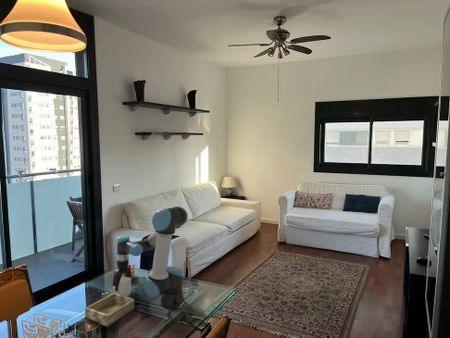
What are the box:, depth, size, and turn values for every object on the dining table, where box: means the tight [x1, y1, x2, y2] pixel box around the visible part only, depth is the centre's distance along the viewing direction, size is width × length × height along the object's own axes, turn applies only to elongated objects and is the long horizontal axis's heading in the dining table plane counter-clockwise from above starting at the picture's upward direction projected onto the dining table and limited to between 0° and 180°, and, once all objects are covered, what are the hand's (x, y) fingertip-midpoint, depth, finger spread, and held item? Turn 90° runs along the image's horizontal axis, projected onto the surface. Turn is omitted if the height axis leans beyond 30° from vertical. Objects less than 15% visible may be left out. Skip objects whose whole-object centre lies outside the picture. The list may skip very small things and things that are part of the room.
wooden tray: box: [84, 292, 136, 327], centre depth 191 cm, size 17×22×6 cm
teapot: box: [119, 262, 136, 280], centre depth 237 cm, size 14×12×10 cm
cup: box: [112, 277, 132, 297], centre depth 214 cm, size 8×12×10 cm
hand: (122, 292), depth 215 cm, fingers closed on cup, 8 cm apart
